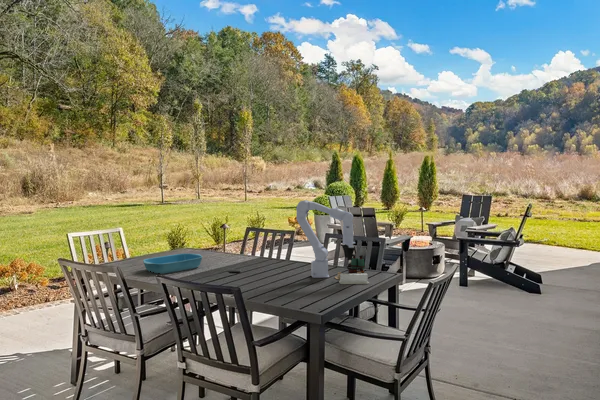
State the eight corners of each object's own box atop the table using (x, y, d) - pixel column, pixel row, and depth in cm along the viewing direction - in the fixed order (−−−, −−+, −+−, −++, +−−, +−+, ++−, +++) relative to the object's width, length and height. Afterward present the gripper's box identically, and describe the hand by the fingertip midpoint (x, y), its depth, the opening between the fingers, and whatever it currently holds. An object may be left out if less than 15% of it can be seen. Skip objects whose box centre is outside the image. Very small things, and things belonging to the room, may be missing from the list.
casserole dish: (155, 277, 240) (155, 264, 240) (135, 271, 255) (135, 259, 255) (209, 267, 268) (209, 255, 268) (188, 262, 283) (188, 252, 283)
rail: (341, 282, 225) (341, 274, 225) (340, 281, 228) (340, 273, 227) (367, 282, 226) (367, 274, 226) (366, 280, 229) (366, 273, 228)
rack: (336, 279, 234) (336, 274, 234) (334, 277, 239) (334, 272, 238) (365, 279, 235) (365, 273, 235) (363, 277, 240) (363, 271, 240)
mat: (340, 284, 223) (340, 283, 223) (338, 281, 229) (338, 280, 229) (369, 283, 224) (369, 282, 224) (366, 280, 231) (366, 280, 231)
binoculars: (344, 257, 248) (352, 253, 256) (345, 275, 249) (353, 270, 257) (358, 258, 243) (366, 254, 251) (359, 276, 244) (367, 272, 252)
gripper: (358, 235, 231) (358, 260, 231) (352, 232, 245) (352, 256, 246) (345, 235, 230) (345, 261, 231) (340, 232, 245) (340, 256, 245)
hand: (348, 258), depth 238 cm, fingers open, 7 cm apart
